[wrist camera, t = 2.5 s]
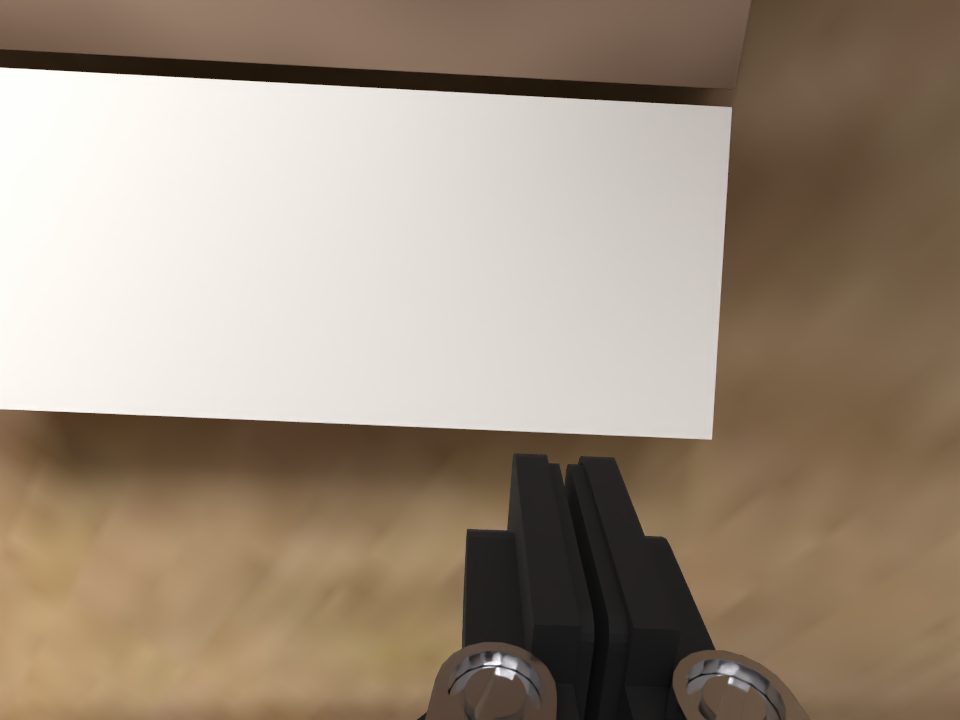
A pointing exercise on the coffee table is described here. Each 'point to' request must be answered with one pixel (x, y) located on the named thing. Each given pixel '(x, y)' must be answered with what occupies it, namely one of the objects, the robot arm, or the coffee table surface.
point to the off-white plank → (359, 254)
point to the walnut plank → (407, 35)
